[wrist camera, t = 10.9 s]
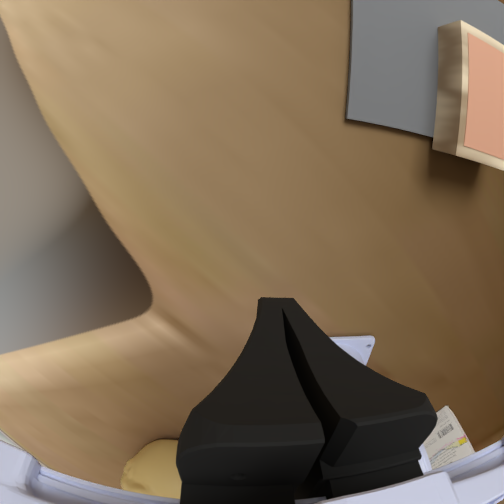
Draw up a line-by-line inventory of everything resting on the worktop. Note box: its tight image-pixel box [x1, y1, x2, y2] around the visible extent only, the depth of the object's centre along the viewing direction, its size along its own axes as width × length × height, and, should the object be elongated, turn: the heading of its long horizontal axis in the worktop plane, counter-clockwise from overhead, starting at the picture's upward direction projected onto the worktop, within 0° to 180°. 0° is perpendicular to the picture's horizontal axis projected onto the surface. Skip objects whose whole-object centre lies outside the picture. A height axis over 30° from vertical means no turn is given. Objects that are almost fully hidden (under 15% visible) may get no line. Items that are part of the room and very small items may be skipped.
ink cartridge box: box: [423, 406, 475, 470], centre depth 28 cm, size 9×5×15 cm, turn 133°
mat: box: [345, 0, 504, 137], centre depth 16 cm, size 16×20×1 cm
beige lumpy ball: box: [120, 439, 182, 499], centre depth 28 cm, size 12×12×11 cm
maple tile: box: [432, 20, 504, 171], centre depth 16 cm, size 3×6×10 cm
